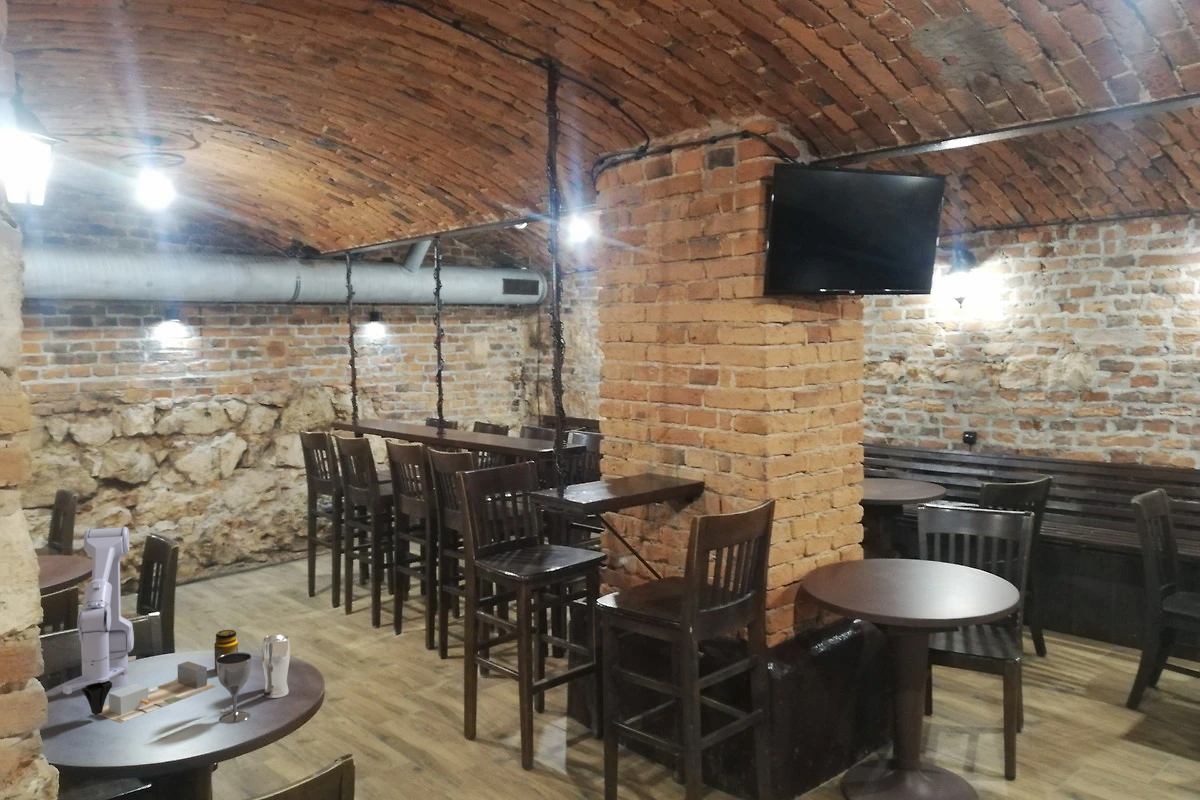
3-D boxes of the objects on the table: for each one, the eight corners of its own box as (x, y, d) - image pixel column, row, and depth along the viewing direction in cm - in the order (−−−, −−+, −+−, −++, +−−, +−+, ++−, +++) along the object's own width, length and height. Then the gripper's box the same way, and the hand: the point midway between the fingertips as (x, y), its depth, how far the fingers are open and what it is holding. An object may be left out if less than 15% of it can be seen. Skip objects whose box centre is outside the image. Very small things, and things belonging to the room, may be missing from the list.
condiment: (243, 674, 242) (243, 632, 241) (212, 682, 236) (211, 639, 235) (233, 667, 247) (232, 626, 246) (202, 675, 241) (201, 633, 240)
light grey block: (109, 710, 215) (108, 692, 214) (151, 695, 224) (150, 678, 224) (126, 717, 211) (126, 699, 211) (168, 701, 220) (168, 684, 220)
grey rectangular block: (177, 683, 232) (177, 664, 232) (188, 679, 235) (187, 661, 235) (196, 689, 228) (196, 670, 228) (206, 685, 231) (206, 667, 231)
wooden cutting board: (89, 715, 215) (89, 709, 214) (185, 680, 237) (185, 675, 237) (120, 727, 208) (120, 721, 208) (216, 690, 231) (216, 685, 230)
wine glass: (248, 723, 211) (247, 663, 210) (213, 725, 210) (212, 664, 209) (255, 709, 219) (254, 651, 218) (222, 711, 218) (221, 652, 217)
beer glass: (281, 700, 225) (280, 643, 224) (256, 697, 226) (256, 641, 225) (295, 689, 232) (295, 634, 231) (272, 687, 233) (271, 632, 232)
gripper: (73, 670, 200) (75, 727, 201) (134, 651, 213) (135, 705, 214) (57, 664, 204) (58, 720, 205) (117, 646, 216) (118, 699, 217)
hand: (96, 712), depth 209 cm, fingers closed
